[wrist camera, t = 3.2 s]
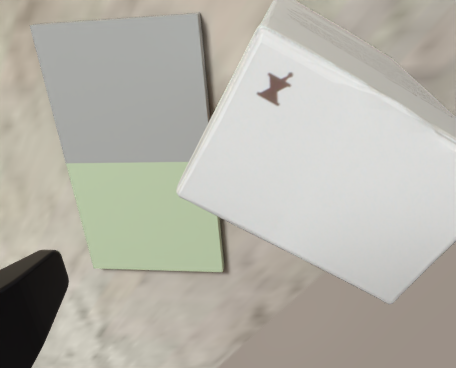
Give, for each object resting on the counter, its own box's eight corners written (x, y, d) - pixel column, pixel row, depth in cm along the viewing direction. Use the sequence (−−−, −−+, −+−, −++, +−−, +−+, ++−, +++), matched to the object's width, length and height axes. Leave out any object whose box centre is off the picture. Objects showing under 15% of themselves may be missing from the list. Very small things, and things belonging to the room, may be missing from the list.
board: (199, 12, 19) (197, 13, 18) (224, 265, 25) (222, 272, 24) (36, 24, 20) (29, 25, 20) (97, 262, 26) (93, 268, 26)
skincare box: (233, 76, 20) (163, 193, 9) (279, -12, 18) (257, 12, 7) (342, 138, 21) (392, 314, 10) (398, 60, 19) (535, 175, 8)
